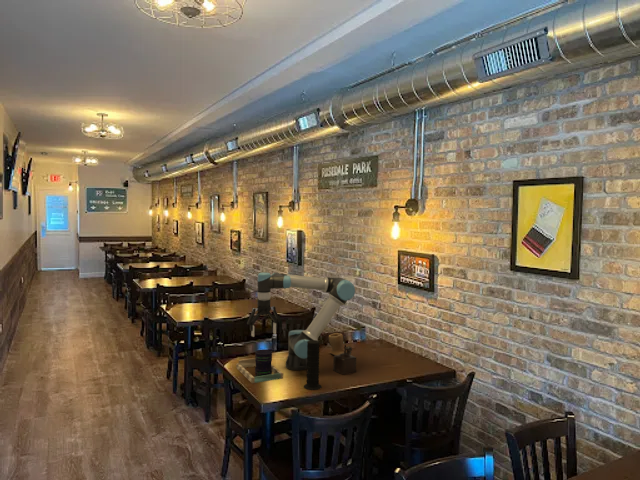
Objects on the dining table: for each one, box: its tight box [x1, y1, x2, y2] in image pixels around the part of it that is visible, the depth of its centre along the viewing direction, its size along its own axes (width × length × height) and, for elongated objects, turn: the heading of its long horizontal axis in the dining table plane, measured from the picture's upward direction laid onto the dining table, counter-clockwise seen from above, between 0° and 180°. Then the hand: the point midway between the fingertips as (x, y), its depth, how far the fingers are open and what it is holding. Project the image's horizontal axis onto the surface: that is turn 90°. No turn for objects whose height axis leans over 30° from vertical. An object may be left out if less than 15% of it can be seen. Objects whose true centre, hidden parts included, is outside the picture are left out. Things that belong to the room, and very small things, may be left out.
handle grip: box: [303, 340, 322, 391], centre depth 263 cm, size 10×26×10 cm
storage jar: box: [254, 348, 273, 377], centre depth 278 cm, size 10×10×15 cm
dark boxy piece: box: [332, 344, 357, 376], centre depth 288 cm, size 16×11×18 cm
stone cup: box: [328, 332, 352, 356], centre depth 323 cm, size 15×12×15 cm
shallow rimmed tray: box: [235, 357, 284, 384], centre depth 285 cm, size 29×19×5 cm, turn 28°
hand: (263, 335), depth 278 cm, fingers open, 13 cm apart
